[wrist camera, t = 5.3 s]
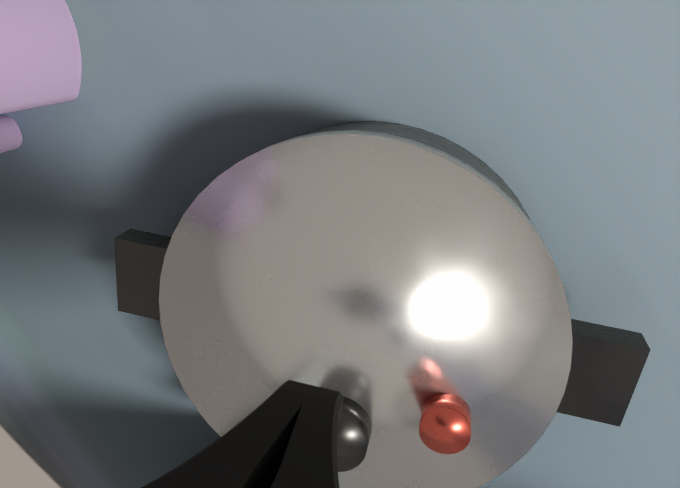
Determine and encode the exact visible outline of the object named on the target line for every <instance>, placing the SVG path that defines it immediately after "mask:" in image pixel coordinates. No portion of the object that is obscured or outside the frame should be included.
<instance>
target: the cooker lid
mask: <svg viewBox="0 0 680 488" xmlns="http://www.w3.org/2000/svg"><path fill="white" fill-rule="evenodd" d="M159 310H160V323H161V328H162V333H163V337H164V342H165V346H166V349H167V352H168V355H169V358H170V361H171V364H172V367H173V369H174V371H175V373H176V375H177V377H178V379H179V381H180V383H181V385H182V387H183V389H184V391H185V392H186V394H187V395H188V397H189V399H190V400H191V402H192V403H193V405H194V406H195V408H196V409H197V410H198V412H199V413H200V414H201V415H202V417H203V418H204V419H205V420H206V422H207V423H208V424H209V425H210V426H211V427H212V428H213V429H214V431H215V432H216V433H217V434H218V435H219V436H220V437H222V436H223V435H224V434H226V433H227V432H228V431H229V430H231V429H232V428H233V427H234V426H236V425H237V424H238V423H239V422H241V421H242V420H243V419H244V418H245V417H247V416H248V415H249V414H250V413H251V412H253V411H254V410H255V409H256V408H257V407H258V406H259V405H261V404H262V403H263V402H264V401H265V400H266V399H267V398H268V397H269V396H271V395H272V394H273V393H274V392H275V391H276V390H277V389H278V388H279V387H280V386H281V385H282V384H283V383H284V382H286V381H288V380H292V381H296V382H301V383H305V384H309V385H313V386H317V387H321V388H325V389H330V390H334V391H338V392H340V393H341V394H342V396H343V397H344V398H343V405H342V412H341V419H340V426H339V433H338V440H337V467H338V479H339V488H477V487H479V486H481V485H483V484H485V483H487V482H489V481H491V480H492V479H494V478H495V477H497V476H498V475H500V474H502V473H503V472H505V471H506V470H508V469H509V468H510V467H511V466H513V465H514V464H515V463H516V462H517V461H518V460H520V459H521V458H522V457H523V456H524V455H525V454H526V453H527V452H528V451H529V450H530V449H531V448H532V447H533V445H534V444H535V443H536V442H537V441H538V440H539V438H540V437H541V436H542V435H543V433H544V432H545V430H546V428H547V427H548V425H549V424H550V422H551V420H552V419H553V417H554V416H555V414H556V411H557V409H558V407H559V404H560V402H561V400H562V397H563V395H564V393H565V389H566V385H567V381H568V376H569V372H570V368H571V357H572V344H573V340H572V327H571V315H570V311H569V307H568V303H567V299H566V294H565V290H564V287H563V284H562V281H561V278H560V276H559V273H558V271H557V268H556V266H555V263H554V261H553V258H552V256H551V254H550V251H549V249H548V248H547V246H546V244H545V243H544V241H543V239H542V238H541V236H540V234H539V233H538V231H537V229H536V228H535V226H534V225H533V224H532V222H531V221H530V220H529V219H528V217H527V216H526V215H525V214H524V212H523V211H522V210H521V209H520V207H519V206H518V205H517V204H516V203H515V202H514V201H513V200H512V199H511V198H510V197H509V196H508V195H507V194H506V193H505V192H504V191H503V190H501V189H500V188H499V187H498V186H497V185H496V184H495V183H494V182H492V181H491V180H490V179H488V178H487V177H485V176H484V175H483V174H481V173H480V172H478V171H477V170H476V169H474V168H473V167H471V166H470V165H468V164H467V163H465V162H463V161H461V160H459V159H457V158H455V157H453V156H451V155H450V154H448V153H446V152H444V151H442V150H439V149H437V148H434V147H431V146H429V145H426V144H423V143H421V142H418V141H415V140H412V139H408V138H403V137H399V136H394V135H390V134H386V133H378V132H367V131H357V130H347V131H324V132H319V133H313V134H308V135H302V136H297V137H294V138H291V139H288V140H285V141H282V142H279V143H276V144H273V145H270V146H268V147H266V148H264V149H262V150H260V151H258V152H256V153H254V154H252V155H250V156H248V157H246V158H245V159H243V160H241V161H239V162H238V163H236V164H235V165H233V166H232V167H231V168H229V169H228V170H226V171H225V172H223V173H222V174H221V175H219V176H218V177H216V178H215V179H214V180H213V181H212V182H211V183H210V184H209V185H208V186H207V187H206V188H205V189H204V190H203V191H202V192H201V193H200V194H199V195H198V196H197V197H196V199H195V200H194V201H193V203H192V204H191V205H190V206H189V208H188V209H187V210H186V212H185V213H184V214H183V216H182V218H181V220H180V222H179V224H178V225H177V227H176V229H175V231H174V233H173V235H172V237H171V240H170V243H169V246H168V248H167V251H166V254H165V257H164V262H163V267H162V272H161V277H160V289H159Z"/></svg>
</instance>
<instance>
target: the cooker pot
mask: <svg viewBox="0 0 680 488" xmlns="http://www.w3.org/2000/svg"><path fill="white" fill-rule="evenodd" d="M347 130H357V131H367V132H378V133H386V134H390V135H394V136H399V137H403V138H408V139H412V140H415V141H418V142H421V143H423V144H426V145H429V146H431V147H434V148H437V149H439V150H442V151H444V152H446V153H448V154H450V155H451V156H453V157H455V158H457V159H459V160H461V161H463V162H465V163H467V164H468V165H470V166H471V167H473V168H474V169H476V170H477V171H478V172H480V173H481V174H483V175H484V176H485V177H487V178H488V179H490V180H491V181H492V182H494V183H495V184H496V185H497V186H498V187H499V188H500V189H501V190H503V191H504V192H505V193H506V194H507V195H508V196H509V197H510V198H511V199H512V200H513V201H514V202H515V203H516V204H517V205H518V206H519V207H520V209H521V210H522V211H523V212H524V214H525V215H526V216H527V217H528V215H527V213H526V211H525V210H524V208H523V206H522V205H521V203H520V201H519V200H518V198H517V197H516V195H515V194H514V193H513V192H512V191H511V189H510V188H509V187H508V186H507V184H506V183H505V182H504V181H503V179H502V178H500V177H499V176H498V175H497V174H496V173H495V172H494V171H493V170H492V169H491V168H490V167H489V166H488V165H487V164H486V163H484V162H483V161H482V160H480V159H479V158H477V157H476V156H475V155H473V154H472V153H470V152H469V151H468V150H466V149H465V148H463V147H461V146H459V145H457V144H455V143H453V142H451V141H449V140H448V139H446V138H444V137H441V136H438V135H436V134H433V133H430V132H428V131H425V130H422V129H419V128H414V127H410V126H405V125H401V124H395V123H384V122H351V123H345V124H339V125H334V126H328V127H325V128H322V129H319V130H316V131H313V132H310V133H307V134H305V135H308V134H313V133H319V132H324V131H347ZM528 219H529V220H530V218H529V217H528ZM170 240H171V237H168V236H163V235H158V234H153V233H148V232H143V231H138V230H133V229H129V230H128V231H126V232H124V233H123V234H121V235H119V236H117V237H116V238H115V256H116V277H117V298H118V311H122V312H127V313H131V314H135V315H140V316H144V317H148V318H153V319H157V320H160V310H159V289H160V277H161V272H162V267H163V262H164V257H165V254H166V251H167V248H168V246H169V243H170ZM571 327H572V340H573V344H572V357H571V368H570V372H569V376H568V381H567V385H566V389H565V393H564V395H563V397H562V400H561V402H560V404H559V407H558V409H557V411H556V412H559V413H564V414H568V415H572V416H577V417H581V418H585V419H590V420H594V421H598V422H603V423H607V424H611V425H616V426H620V425H621V422H622V420H623V417H624V415H625V412H626V410H627V407H628V405H629V402H630V400H631V397H632V395H633V392H634V390H635V387H636V385H637V382H638V380H639V377H640V374H641V372H642V369H643V367H644V364H645V362H646V359H647V357H648V354H649V352H650V348H649V346H648V345H647V343H646V341H645V339H644V337H643V335H642V333H637V332H632V331H628V330H623V329H618V328H613V327H608V326H603V325H598V324H593V323H588V322H584V321H579V320H574V319H571Z"/></svg>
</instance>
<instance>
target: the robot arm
mask: <svg viewBox="0 0 680 488" xmlns="http://www.w3.org/2000/svg"><path fill="white" fill-rule="evenodd" d="M343 398H344V397H343V396H342V394H341V393H340V392H338V391H334V390H330V389H325V388H321V387H317V386H313V385H309V384H305V383H301V382H296V381H292V380H288V381H286V382H284V383H283V384H282V385H281V386H280V387H279V388H278V389H277V390H276V391H275V392H274V393H273V394H272V395H271V396H269V397H268V398H267V399H266V400H265V401H264V402H263V403H262V404H261V405H259V406H258V407H257V408H256V409H255V410H254V411H253V412H251V413H250V414H249V415H248V416H247V417H245V418H244V419H243V420H242V421H241V422H239V423H238V424H237V425H236V426H234V427H233V428H232V429H231V430H229V431H228V432H227V433H226V434H224V435H223V436H222V437H220V438H219V439H217V440H216V441H215V442H213V443H212V444H211V445H209V446H208V447H206V448H205V449H204V450H202V451H201V452H200V453H198V454H197V455H195V456H194V457H192V458H191V459H189V460H188V461H186V462H185V463H183V464H181V465H180V466H178V467H177V468H175V469H173V470H172V471H170V472H168V473H167V474H165V475H163V476H162V477H160V478H158V479H156V480H154V481H153V482H151V483H149V484H147V485H145V486H143V487H141V488H339V479H338V467H337V440H338V433H339V426H340V419H341V412H342V405H343Z"/></svg>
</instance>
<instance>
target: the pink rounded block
mask: <svg viewBox="0 0 680 488" xmlns="http://www.w3.org/2000/svg"><path fill="white" fill-rule="evenodd" d="M81 69H82V65H81V52H80V45H79V39H78V35H77V31H76V27H75V24H74V21H73V18H72V16H71V13H70V11H69V8H68V6H67V4H66V2H65V0H0V114H5V113H10V112H15V111H20V110H26V109H31V108H36V107H41V106H46V105H51V104H57V103H62V102H67V101H72V100H74V99H76V98H77V96H78V94H79V89H80V84H81ZM21 144H22V135H21V132H20V129H19V127H18V125H17V123H16V122H15V121H14V120H13V119H12V118H11V117H8V116H0V153H3V152H7V151H10V150H14V149H17V148H19V147H20V146H21Z"/></svg>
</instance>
